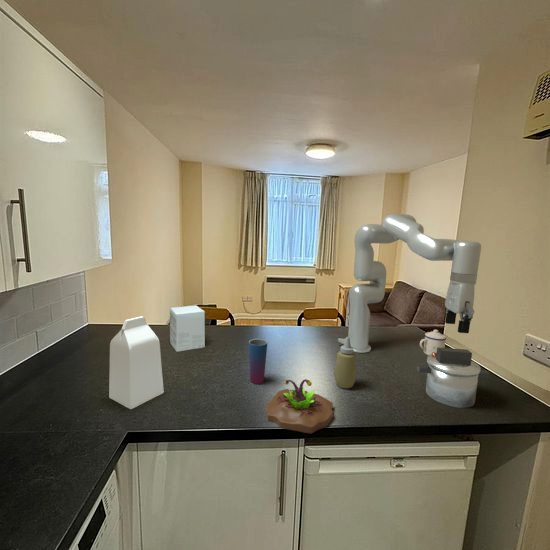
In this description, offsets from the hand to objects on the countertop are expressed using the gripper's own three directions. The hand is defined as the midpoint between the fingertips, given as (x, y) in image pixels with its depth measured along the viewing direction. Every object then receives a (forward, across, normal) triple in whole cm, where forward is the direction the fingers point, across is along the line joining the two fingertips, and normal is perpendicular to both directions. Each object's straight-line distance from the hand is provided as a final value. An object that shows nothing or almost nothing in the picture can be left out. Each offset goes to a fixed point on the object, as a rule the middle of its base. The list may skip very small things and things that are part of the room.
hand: (456, 327), depth 105 cm
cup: (+25, +3, -68) cm, 72 cm away
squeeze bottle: (+25, 0, -36) cm, 43 cm away
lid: (+13, 0, 0) cm, 13 cm away
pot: (+24, +1, 0) cm, 24 cm away
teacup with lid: (+25, -39, +8) cm, 47 cm away
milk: (+26, +20, -104) cm, 109 cm away
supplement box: (+26, -26, -106) cm, 113 cm away
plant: (+25, +20, -51) cm, 60 cm away
